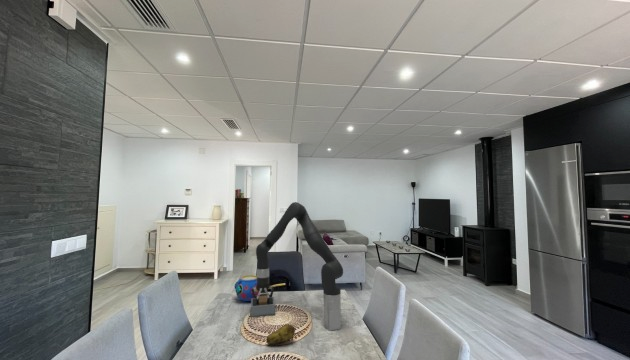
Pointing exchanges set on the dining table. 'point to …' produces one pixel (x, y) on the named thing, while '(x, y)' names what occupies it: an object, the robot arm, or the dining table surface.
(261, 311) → the charcoal bin
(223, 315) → the dining table surface
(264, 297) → the walnut block
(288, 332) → the green pear
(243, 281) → the ceramic pot
